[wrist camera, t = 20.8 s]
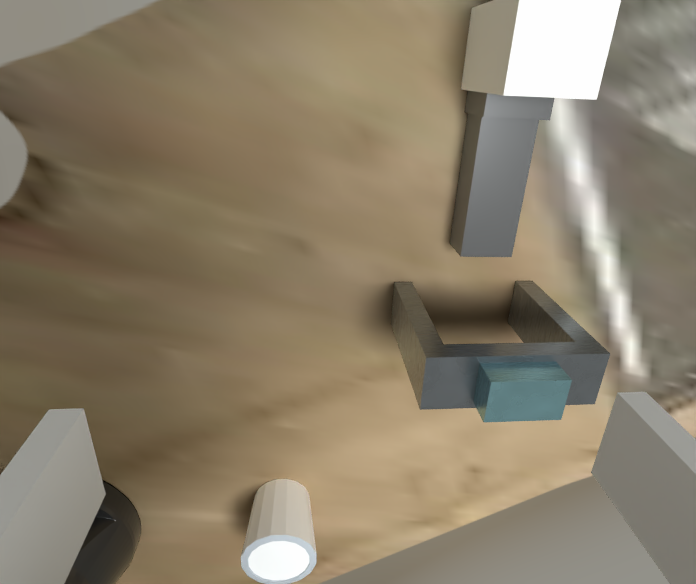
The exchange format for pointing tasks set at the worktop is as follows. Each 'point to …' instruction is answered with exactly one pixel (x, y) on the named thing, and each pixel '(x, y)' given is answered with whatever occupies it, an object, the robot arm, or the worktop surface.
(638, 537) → the robot arm
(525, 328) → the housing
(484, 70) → the plug
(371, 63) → the worktop surface
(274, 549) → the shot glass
